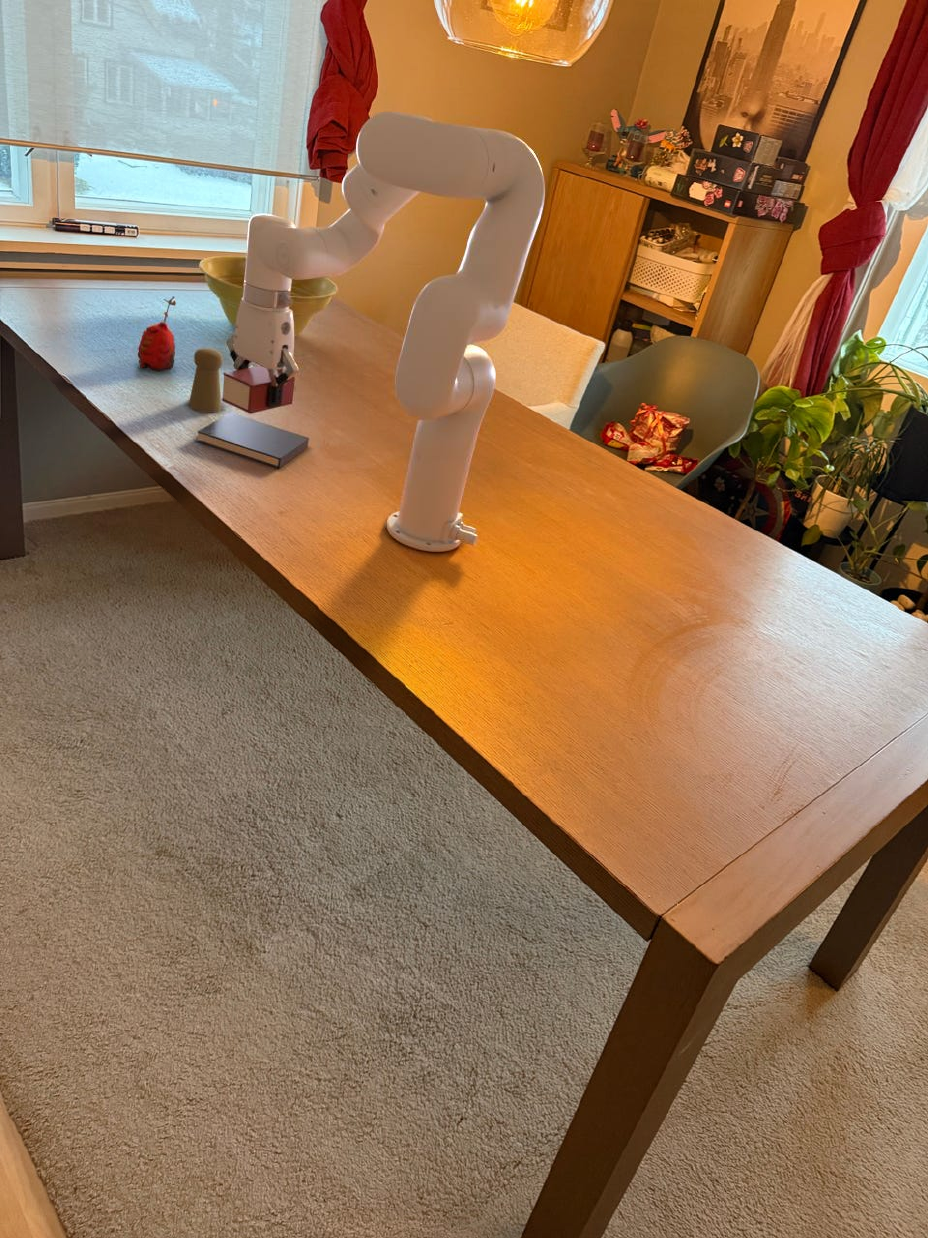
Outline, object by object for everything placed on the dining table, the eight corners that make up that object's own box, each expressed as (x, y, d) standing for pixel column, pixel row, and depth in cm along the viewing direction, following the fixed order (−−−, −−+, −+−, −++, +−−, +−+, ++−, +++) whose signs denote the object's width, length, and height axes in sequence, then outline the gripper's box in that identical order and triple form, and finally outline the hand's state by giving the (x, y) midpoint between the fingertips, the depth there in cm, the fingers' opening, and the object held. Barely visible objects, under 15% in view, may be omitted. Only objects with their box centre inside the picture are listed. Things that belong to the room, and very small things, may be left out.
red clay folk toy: (147, 357, 190) (149, 284, 182) (180, 366, 190) (184, 293, 182) (132, 368, 183) (134, 292, 175) (166, 376, 183) (170, 301, 176)
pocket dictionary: (292, 403, 164) (295, 376, 161) (250, 413, 156) (252, 385, 153) (264, 391, 166) (267, 364, 164) (221, 400, 158) (223, 372, 156)
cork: (213, 414, 173) (217, 358, 167) (183, 406, 173) (186, 349, 167) (226, 405, 178) (231, 350, 172) (197, 397, 178) (201, 341, 172)
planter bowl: (170, 308, 220) (173, 251, 213) (284, 308, 241) (290, 256, 234) (239, 357, 202) (245, 296, 195) (356, 353, 223) (365, 297, 216)
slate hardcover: (307, 447, 170) (309, 437, 169) (279, 468, 160) (280, 458, 158) (229, 422, 172) (230, 412, 170) (196, 441, 161) (197, 431, 160)
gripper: (321, 309, 151) (309, 412, 160) (245, 279, 158) (237, 379, 167) (290, 313, 145) (279, 419, 154) (212, 282, 152) (206, 385, 161)
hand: (257, 397), depth 161 cm, fingers closed on pocket dictionary, 6 cm apart
